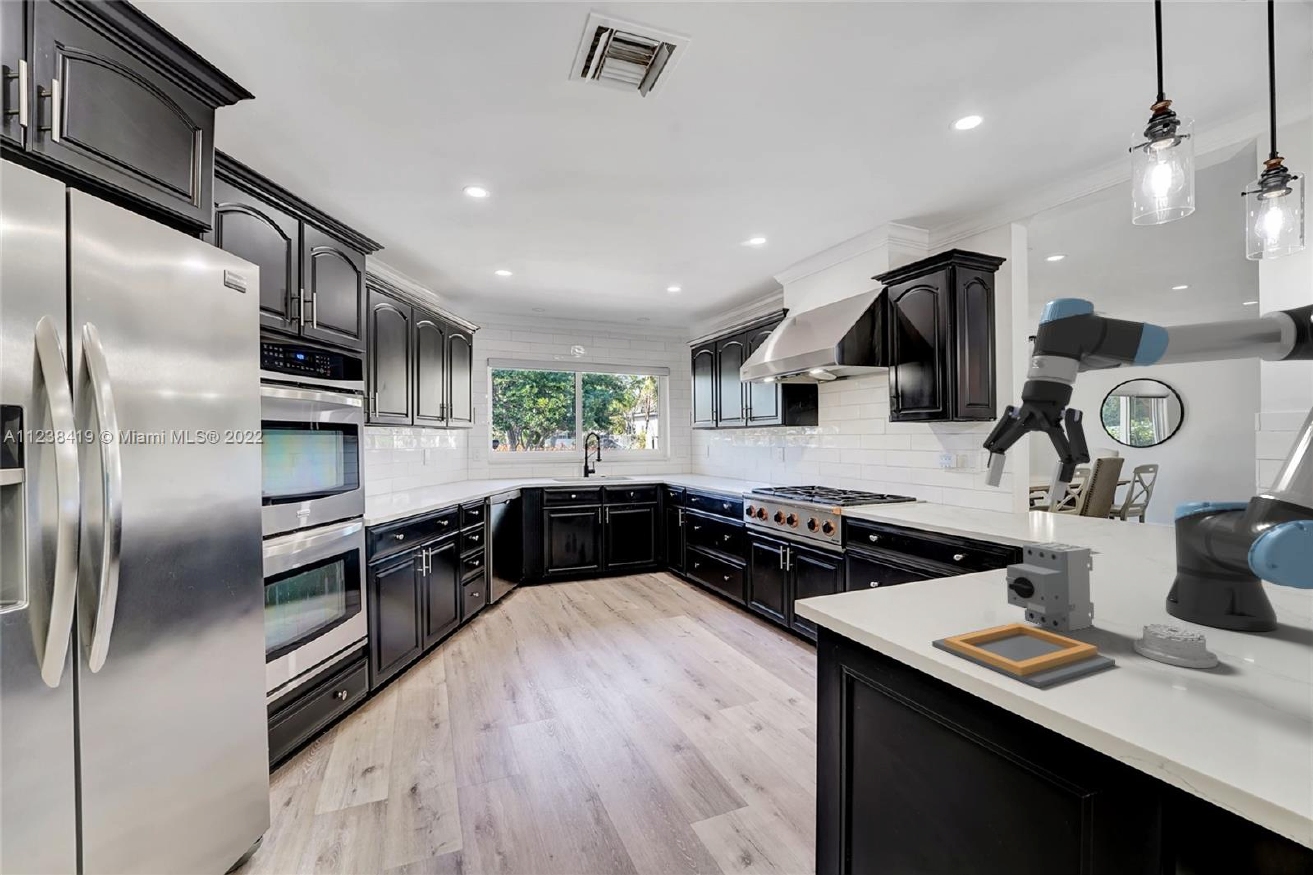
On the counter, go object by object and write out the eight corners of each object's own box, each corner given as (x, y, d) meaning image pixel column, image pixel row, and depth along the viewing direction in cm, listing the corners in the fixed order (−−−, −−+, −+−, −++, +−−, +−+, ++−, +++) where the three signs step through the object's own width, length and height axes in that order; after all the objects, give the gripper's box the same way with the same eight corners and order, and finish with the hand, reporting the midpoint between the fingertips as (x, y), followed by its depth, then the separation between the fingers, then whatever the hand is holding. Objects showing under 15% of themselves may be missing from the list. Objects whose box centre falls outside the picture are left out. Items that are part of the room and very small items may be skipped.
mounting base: (1004, 629, 103) (1004, 618, 103) (1115, 664, 86) (1114, 652, 86) (932, 645, 95) (932, 634, 95) (1038, 688, 79) (1038, 674, 79)
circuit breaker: (1001, 623, 106) (999, 547, 106) (1054, 615, 110) (1052, 541, 110) (1039, 636, 99) (1036, 554, 99) (1094, 626, 103) (1092, 548, 103)
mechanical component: (1160, 668, 85) (1235, 672, 83) (1159, 640, 85) (1235, 643, 83) (1120, 644, 95) (1186, 647, 93) (1119, 619, 95) (1185, 622, 93)
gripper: (979, 378, 112) (955, 477, 113) (1102, 377, 88) (1069, 503, 89) (1008, 386, 114) (983, 484, 115) (1136, 387, 90) (1103, 510, 91)
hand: (1021, 492), depth 102 cm, fingers open, 13 cm apart
